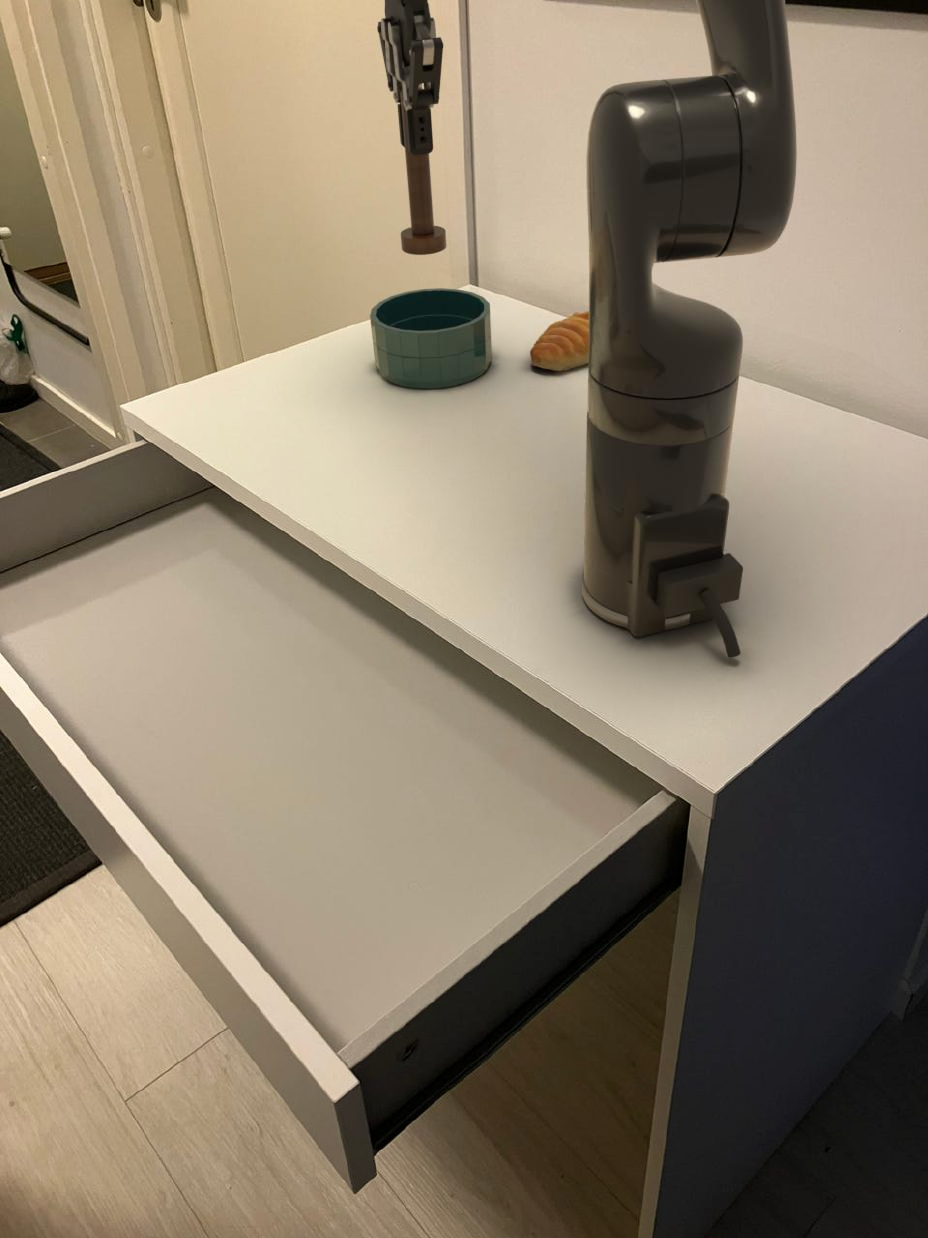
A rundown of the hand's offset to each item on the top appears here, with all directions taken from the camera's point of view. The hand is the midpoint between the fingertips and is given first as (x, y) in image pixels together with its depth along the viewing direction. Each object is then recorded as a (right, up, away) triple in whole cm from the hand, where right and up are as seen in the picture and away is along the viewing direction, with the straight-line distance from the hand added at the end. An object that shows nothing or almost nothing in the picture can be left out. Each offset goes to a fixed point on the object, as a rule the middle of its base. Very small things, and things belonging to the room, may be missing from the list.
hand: (417, 148), depth 94 cm
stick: (0, -7, +6) cm, 9 cm away
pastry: (+16, -16, +13) cm, 26 cm away
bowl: (+1, -17, +13) cm, 21 cm away
